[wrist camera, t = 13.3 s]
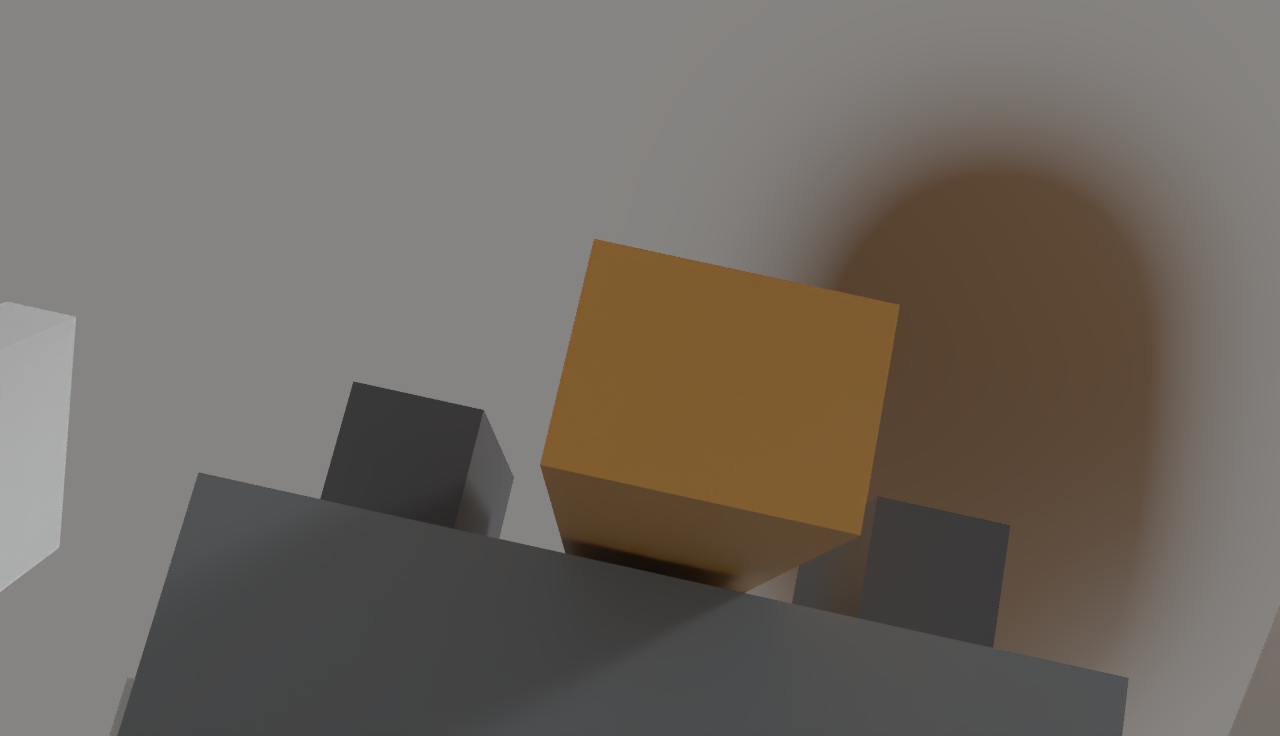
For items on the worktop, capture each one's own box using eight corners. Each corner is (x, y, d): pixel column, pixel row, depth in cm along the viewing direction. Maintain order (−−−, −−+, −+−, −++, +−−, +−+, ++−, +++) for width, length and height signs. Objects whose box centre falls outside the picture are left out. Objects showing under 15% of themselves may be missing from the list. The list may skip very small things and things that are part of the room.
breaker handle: (717, 605, 32) (739, 496, 33) (860, 535, 15) (899, 304, 15) (571, 573, 32) (596, 465, 33) (540, 465, 15) (594, 239, 15)
